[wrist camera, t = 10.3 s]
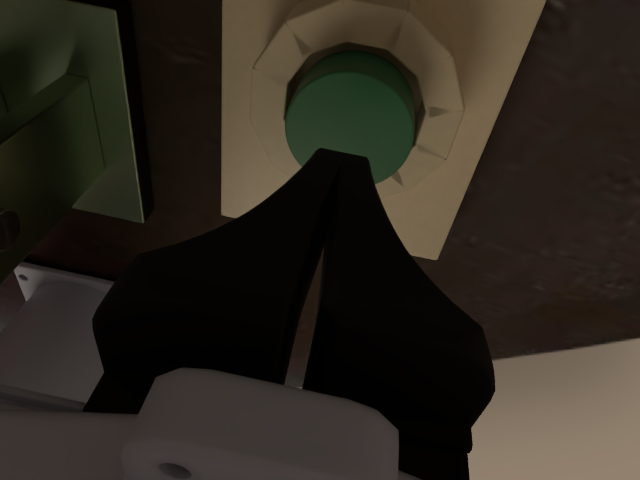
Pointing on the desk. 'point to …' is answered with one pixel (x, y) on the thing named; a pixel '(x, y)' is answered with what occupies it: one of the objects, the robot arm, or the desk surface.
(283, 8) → the switch plate
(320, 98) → the button
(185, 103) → the desk surface
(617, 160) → the desk surface
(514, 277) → the desk surface
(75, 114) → the switch bracket
